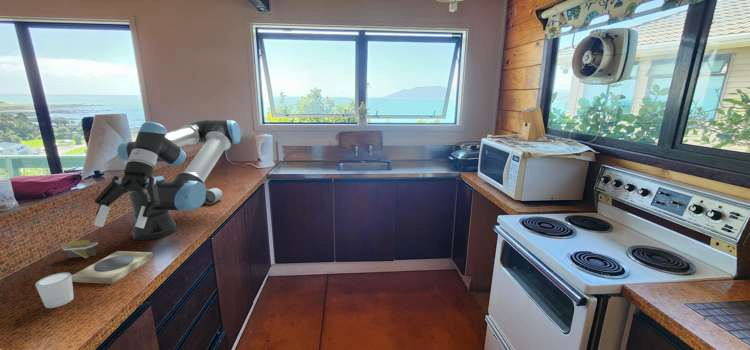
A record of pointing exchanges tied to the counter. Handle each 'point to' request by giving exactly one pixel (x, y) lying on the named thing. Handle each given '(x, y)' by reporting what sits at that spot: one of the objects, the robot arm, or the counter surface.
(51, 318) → the counter surface
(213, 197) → the ceramic mug
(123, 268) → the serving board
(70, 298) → the shot glass
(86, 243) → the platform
